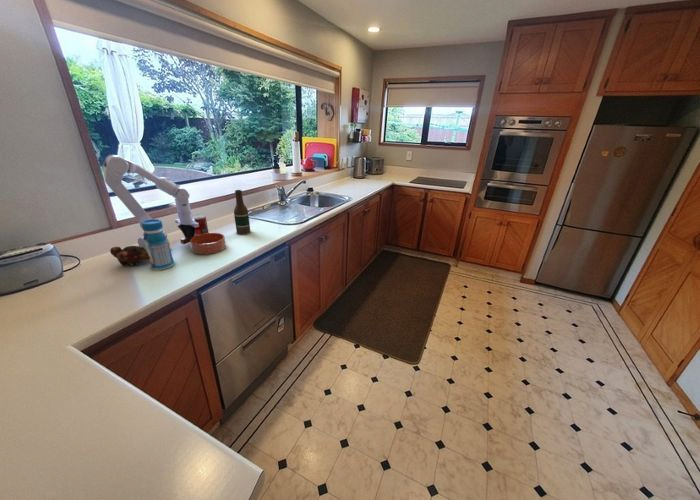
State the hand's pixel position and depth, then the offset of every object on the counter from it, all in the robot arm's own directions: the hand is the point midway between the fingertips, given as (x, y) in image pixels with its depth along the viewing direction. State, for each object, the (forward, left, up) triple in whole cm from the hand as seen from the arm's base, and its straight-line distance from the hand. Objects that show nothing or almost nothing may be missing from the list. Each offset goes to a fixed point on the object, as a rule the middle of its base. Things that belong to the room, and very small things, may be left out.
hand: (190, 238), depth 141 cm
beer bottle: (+25, -11, -3) cm, 27 cm away
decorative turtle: (-26, +2, -3) cm, 26 cm away
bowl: (0, -13, -3) cm, 13 cm away
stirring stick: (0, 0, -1) cm, 1 cm away
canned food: (+10, +5, -3) cm, 12 cm away
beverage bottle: (-22, -11, -3) cm, 25 cm away
